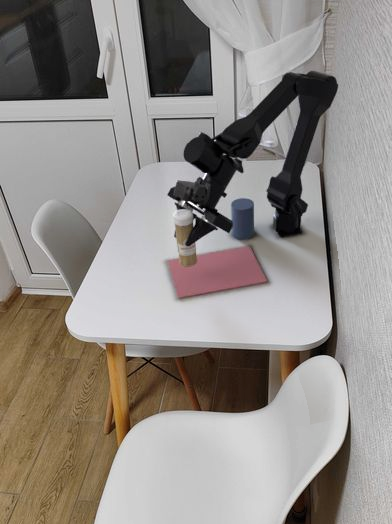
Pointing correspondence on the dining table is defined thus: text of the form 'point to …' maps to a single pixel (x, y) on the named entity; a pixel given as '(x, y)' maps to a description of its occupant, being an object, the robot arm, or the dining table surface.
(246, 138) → the robot arm
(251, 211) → the blue canister
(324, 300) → the dining table surface
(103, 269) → the dining table surface
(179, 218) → the sprinkles bottle
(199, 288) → the rose mat
